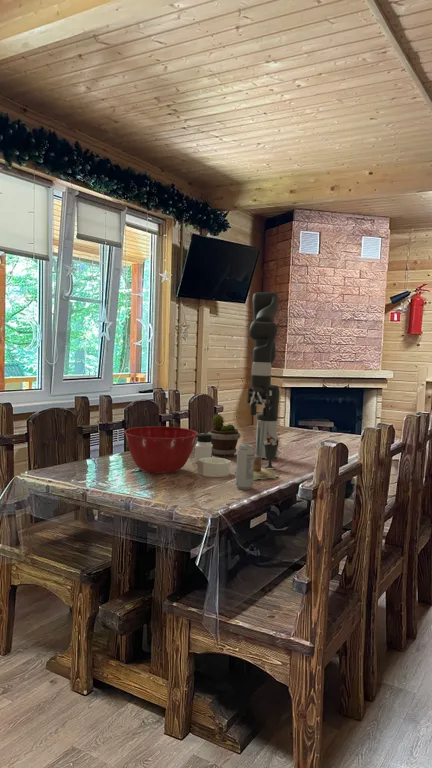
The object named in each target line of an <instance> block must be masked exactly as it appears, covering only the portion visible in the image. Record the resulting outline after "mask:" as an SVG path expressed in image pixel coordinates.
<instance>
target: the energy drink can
mask: <svg viewBox="0 0 432 768" xmlns="http://www.w3.org/2000/svg"><path fill="white" fill-rule="evenodd" d="M236 449H237V451H236V471H235V472H236V474H235V486H236V488H237V489H239V490H244V491H246V490H247V491H248V490H251V489H252V487H254V480H253V475H254V456H255V455H256V449H254V445H253V444H250V443H249V444H248V443H247V444H246V443H242V444H241V443H240V444H239V446H238V448H236Z"/></svg>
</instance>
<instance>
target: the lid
mask: <svg viewBox="0 0 432 768" xmlns="http://www.w3.org/2000/svg"><path fill="white" fill-rule="evenodd" d="M262 460H263V459H262V457H261V456H255V455H254V475H253V477H260V478H265V477H271V476H273V475H274V474H275V472H274V470H270V469H267V468H264V467H262Z"/></svg>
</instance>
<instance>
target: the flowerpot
mask: <svg viewBox="0 0 432 768" xmlns="http://www.w3.org/2000/svg"><path fill="white" fill-rule="evenodd" d="M211 421H212V423H211V424H212V425H211V426H213V427H212V428H211V429H210V430H209V431H208V432H207V434H210V435H211V436H212V439H211V444H212V445H213V449H212V456H214V457H218V456H219V458H224V457H225V458H229V456H231V457H234V455H235V454H237V449H238V448H237V444H238V440H239V439H240V438H241V436H242V435H241V433H240V432H239V430H238V429H237V428H236V427H235V425H234V424H233V423H227V424H224V423H225V417H224V416H222V414H221V413H218V412H217V413H215V414H214V416H212V420H211Z"/></svg>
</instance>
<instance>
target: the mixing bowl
mask: <svg viewBox="0 0 432 768" xmlns="http://www.w3.org/2000/svg"><path fill="white" fill-rule="evenodd" d="M123 433H124V434H125V439H126V444H127V447H128V450H129V453H130V455H131V458H132V460H133V462H134V464H135V465H136V466H137V467H138V468H139V469H140V470H142V472H144V473H147V474H152V475H153V474H154V475H171V474H175V473H176V472H178V471H180V470H181V469H182V468H184V467H185V465H186V463H187V462H188V460H189V458H190V457H191V454H192V452H193V449H194V448H195V445H196V444H195V443H196V441H197V437H198V434H199V432H197V431H196V430H194V429H193V430H192V429H189V428H185V427H184V428H183V427H175V426H161V425H160V426H159V425H158V426H138V427H137V426H136V427H131V428H128V429H125V430H124V431H123Z"/></svg>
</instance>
